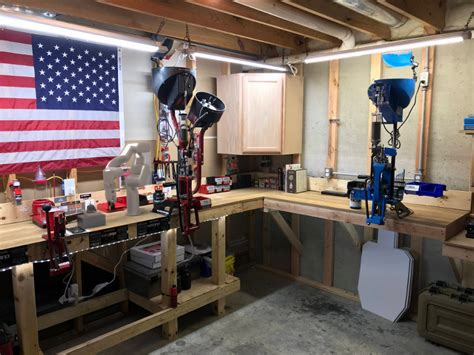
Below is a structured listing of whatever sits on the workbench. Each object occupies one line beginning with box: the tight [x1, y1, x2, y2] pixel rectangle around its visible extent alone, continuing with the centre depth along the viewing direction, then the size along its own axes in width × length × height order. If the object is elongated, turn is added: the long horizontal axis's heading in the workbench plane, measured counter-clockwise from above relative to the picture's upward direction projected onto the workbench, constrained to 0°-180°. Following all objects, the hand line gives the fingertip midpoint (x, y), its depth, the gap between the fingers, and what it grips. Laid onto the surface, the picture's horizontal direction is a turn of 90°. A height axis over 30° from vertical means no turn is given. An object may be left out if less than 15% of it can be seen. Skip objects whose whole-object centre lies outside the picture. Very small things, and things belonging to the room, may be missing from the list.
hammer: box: [65, 204, 98, 224], centre depth 285 cm, size 5×11×30 cm
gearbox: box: [76, 211, 107, 230], centre depth 273 cm, size 16×12×10 cm
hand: (111, 209), depth 284 cm, fingers closed on bead, 3 cm apart
